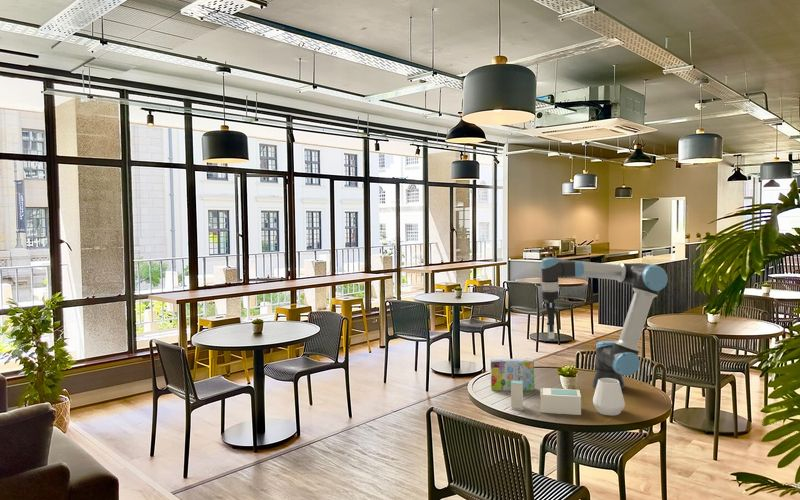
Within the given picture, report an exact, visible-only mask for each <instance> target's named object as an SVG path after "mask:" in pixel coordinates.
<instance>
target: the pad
mask: <svg viewBox="0 0 800 500" xmlns="http://www.w3.org/2000/svg"><path fill="white" fill-rule="evenodd" d="M509 409H510V410H512V411H513V410H515V411H524V407H523V408H511V407H509Z"/></svg>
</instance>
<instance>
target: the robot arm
mask: <svg viewBox="0 0 800 500" xmlns="http://www.w3.org/2000/svg"><path fill="white" fill-rule="evenodd" d="M540 268H541V283H540V286H541V289H542V291H541V298H542V300H545V301H547V302H546V303H545V307H546V312H547V322H546V325H547V334H548V335H547V338H548V339H549V340H554V339H555V318H556V317H555V307H556V303H555V302H554V301H556V300H558V299H559V298H560V297H559V295H560V294H559V285H560V282H559V279H561V278H580V277H581V278H582V277H583V278H593V279H594V278H595V279H603V280H605V279H606V280H615V281H617V282H619V283H624V284H627V285H628V284H629V285H631V286H632V290H633V292H634V293H633V296H632V298H631V301H630V305H629V308H628V311H627V313H626V317H625V320H624V323H623V326H622V329H621V333H620V335H619V338H618V340H599V341H598V342H596V344H595V346H596V347H595V356H596V357H595V367H596V370H595V373H594V377H593V379H592V386H593V387H594V388H595V389H596V386H597V382H598V380H599V379H601V378H612V379H616V380H618V381H619V383H620V387H621V390H624V389H625V385H626V384H625V380H624V377H623V376H631V375H633V374H635V373H636V372H638V370H639V368H640V366H641V361H640V357H639V353H640V349H639V347H638V345H639V342H640V339H641V336H642V333H643V330H644V327H645V324H646V320H647V319H648V318H647V317H648V314H649V311H650V309H651V306H652V303H653V301H654V300H653V299H654V298H657V297H658V296H659V293H660V291H662V290H663V289H665V288H666V286H667V283H668V274H667V272H666V271H665V269H664V268H663V267H661V266H659V265H656V264H649V263H641V262H638V263H637V262H634V263H631V262H630V263H626V262H625V263H624V262H620V263H618V264H612V263H605V262H603V263H602V262H591V261H584V260H583V261H581V260H569V259H561V258H557V257H543V258H542V259H541V267H540Z"/></svg>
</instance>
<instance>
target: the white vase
mask: <svg viewBox="0 0 800 500" xmlns="http://www.w3.org/2000/svg"><path fill="white" fill-rule="evenodd" d="M593 394H594V395H593V398H592V402H593V403H592V404H593V406H594V407H595V408H594V409H596V412H598V413H599V414H601V415H604V416H619V415H620V414H621V412H622V411H623V410H624V408H625V406H626V402H625V398H624V395H623V391H622V390H621V387H620V383H619V381H618V380H616V379H612V378H601V379H599V380H598V382H597V386H596V388H595V390H594V393H593Z"/></svg>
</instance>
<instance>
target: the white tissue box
mask: <svg viewBox="0 0 800 500" xmlns="http://www.w3.org/2000/svg"><path fill="white" fill-rule="evenodd" d="M580 390H581V389H569V388H567V389H566V388H549V387H540V413H541V412H542V413H543V414H559V415H574V416H575V415H576V416H582V396H581V391H580Z"/></svg>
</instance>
